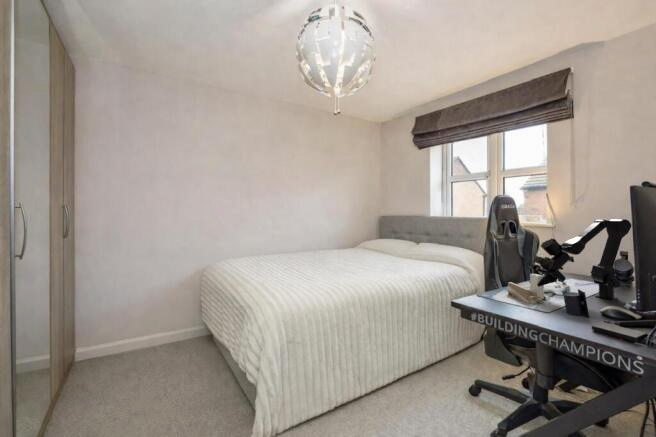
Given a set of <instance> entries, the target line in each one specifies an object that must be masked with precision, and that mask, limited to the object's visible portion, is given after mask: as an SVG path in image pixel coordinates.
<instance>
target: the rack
mask: <svg viewBox="0 0 656 437" xmlns="http://www.w3.org/2000/svg"><path fill="white" fill-rule="evenodd" d="M526 288H527V287H525V288H524V286H521V285H519V284H516V283H514V282H512V281H511V282H510V281H508V283H507V293H510V294H512V295H513V297H514V296H515V297H514V298H516V297H517V298H516V299H518V298H519V300H520V299H521V300H520V301H522V300H523V302H524V301H525V302H524V303H526V302H527V304H533V303H532V302H543V300H542V297H541V296H531V290H529V289H530V288H527V289H526ZM510 294H509V295H510ZM512 295H511V296H512ZM544 299H545V300H544V301H547V296H545V295H544Z"/></svg>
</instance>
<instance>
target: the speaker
mask: <svg viewBox="0 0 656 437" xmlns="http://www.w3.org/2000/svg"><path fill="white" fill-rule="evenodd" d="M562 294H563V298H564V299H563V300H564V307H565V311H566V314H568V315H572V316H581V315H583V316H585V317H587V319H589V318H590V313H589V308H588V302H587V301H588V300H587V296H586V291H584V290H581V289H579V288H578V289H577V292H573V291H572V292H571V291H570V292H569V291H568V292H564V293H562Z"/></svg>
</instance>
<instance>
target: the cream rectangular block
mask: <svg viewBox="0 0 656 437" xmlns="http://www.w3.org/2000/svg"><path fill="white" fill-rule="evenodd" d="M543 277H544V275H539V274H533V273H530V274H529V289H530V290H532V291H534V292H536V296H541V297H542V299H544V296H545V294H544V293H545V290H544V289H545V288H544V287H545V285H543V286H537V284H538V283H539V282H540V280H541V279H542V278H543Z"/></svg>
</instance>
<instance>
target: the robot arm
mask: <svg viewBox="0 0 656 437" xmlns="http://www.w3.org/2000/svg"><path fill="white" fill-rule="evenodd" d="M631 228H632V223H631V222H630V220H628V219H626V218H625V219H624V218H623V219H622V218H617V219H616V218H611V219H610V220H607V219H596V220H594V221H593V222H592V224H590V225H589V226H588V227H587V228H585V229H584V230H583V231H582V232H581V233H579V234H578V235H577V236H576V237H573V238H571V239H570V238H569V239H568V240H566V241H564V242H563V243H562V244H560V243H559V242H557V240H556V239H555V238H550V239H548V240H545V241H544V242H542V243H541V245H540V248H542V249H543V251H545V252H546V254H548V255H549V256H552V257H551V258H550V257H548V256H545V257H542V256H539V255H535V256H534V259H533V261H532V262H533V263H531V264H530V265H529V266H528V267H529V268H530V269H531V270H532V274H539V275H542V276H544V277H543V278H542V279H541V280H540V282H539V283H538V284H537V286H543V285H544V286H545V285H549V284H553V283H557V282H559V283H564V282H565V281H566V276H565V275H564V274H563V273H562V272H561V271H562V270H564V266H565V265H566V264H567V263H568V262H569V263H575V260H574V258H575V257H574V256H573V255H575V256H578V255H580V254H581V253H582V252H583V251H584V250H585V248H586V245H587V244H588V243H589V242H590V241H591V240H592V239H594V238H595V237H596V236H598V234H600V233H601V232H602V231H603V230H605V229H606V234H607V238H606V243H605V245H604V246H605V247H604V249H603V252H602V255H601V257H600V258H601V259H600V261H599V263H598V264H597V265H596V264H595V265H594V264H593V265H592V267H591V271H590V272H589V273H590V277H591V279H592V280H593V283H594V284H597V285H598V294H597V295H595V298H600V299H605V300H610V301H613V300H617V299H619V297H618V296H616V295H615V294H616V293H615V292H616V290H615V288H617V289H618V288H621V285H622V283H621V282H620V281H619V280H618V279H617V278H616V271H615V269H614V265H615V262H616V258H617V256H618V253H619V249H620V246H621V243H622V240H623V239H624V237H625V236H626V235H628V234H629V232H630V230H631ZM569 254H570V255H569ZM571 255H572V256H571ZM536 263H537V264H536Z"/></svg>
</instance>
